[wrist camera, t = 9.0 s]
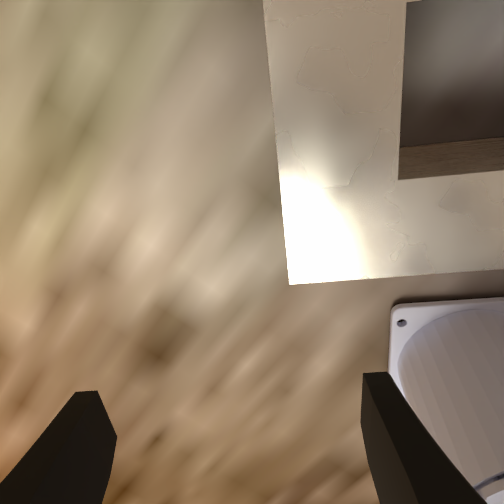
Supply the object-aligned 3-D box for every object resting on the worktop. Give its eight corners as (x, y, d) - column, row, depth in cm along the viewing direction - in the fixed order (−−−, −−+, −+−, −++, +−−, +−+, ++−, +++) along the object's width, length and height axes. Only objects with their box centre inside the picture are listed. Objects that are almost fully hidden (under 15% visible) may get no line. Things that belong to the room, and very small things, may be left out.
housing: (597, 217, 20) (653, 258, 17) (287, 242, 21) (289, 284, 18) (729, -212, 13) (868, -273, 10) (253, -131, 14) (247, -163, 11)
